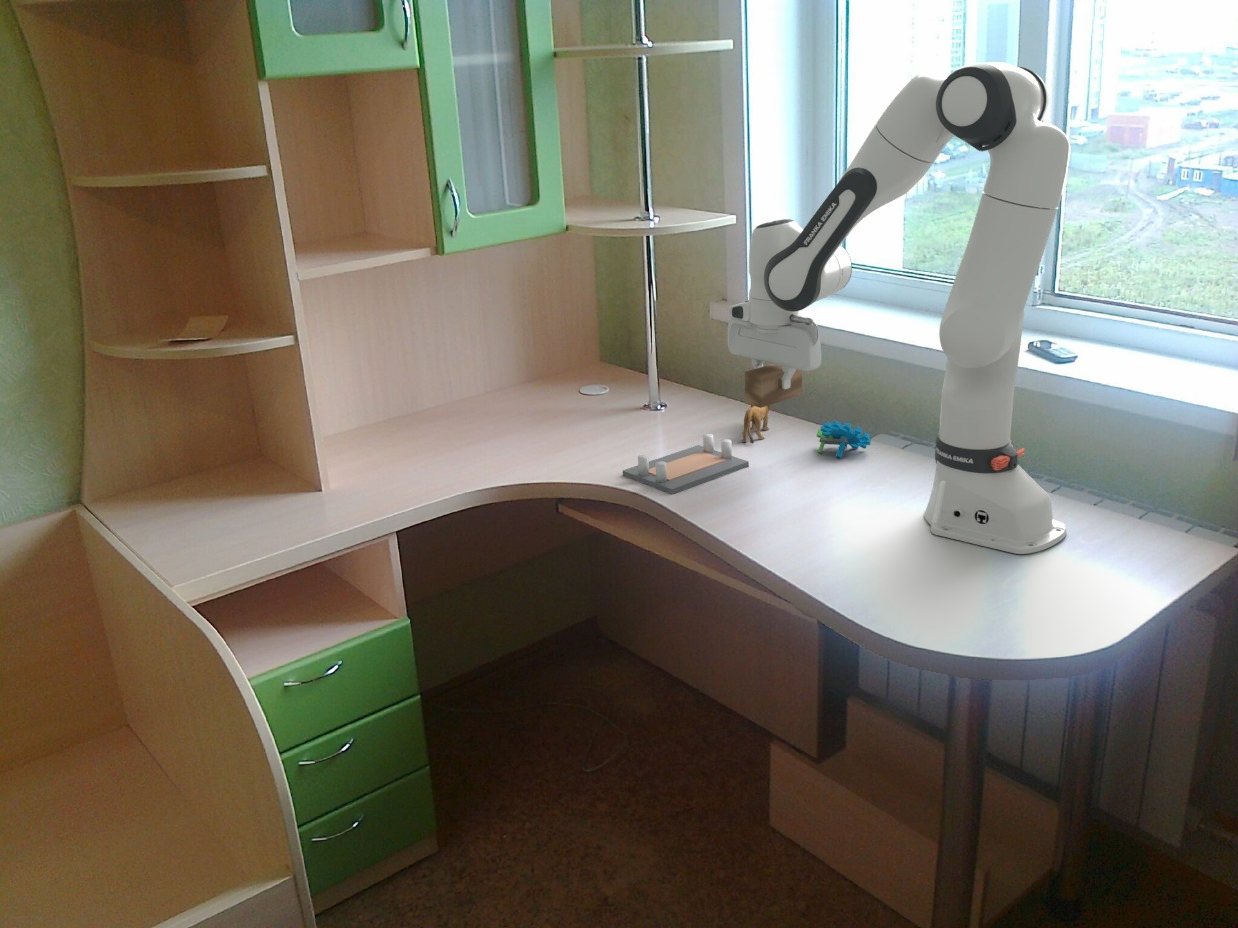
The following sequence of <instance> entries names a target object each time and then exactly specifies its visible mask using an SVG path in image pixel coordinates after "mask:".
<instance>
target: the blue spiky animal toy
mask: <svg viewBox="0 0 1238 928" xmlns="http://www.w3.org/2000/svg"><path fill="white" fill-rule="evenodd" d="M851 426H852V424H851V423H849V422H844V423H843V424H841V423H840V421H839V420H834V421H832V423H831V422H830V421H825V422H824V425H823V424H822V425H821V427H820V429H818V430H817V433H816V437H817V438H819V443H820V445H819V447H818V450H817V453H818V454H822V452H823V449H824V446H825V445H834V446H835V445H837V446H838V449H837V451H836V454H835V458H837V459H842V456H843V453H844V450H845V448H847V447H848V446H850V447H851V448H852V449H853V448H854V449H853V450H859V448H862V449H864V450H865V449H867V446H871V443H872V440H871V438H870V437H871V436H870V434H869V433H868V432H863V429H862V428H861V427H859V426H856V427H855V429H853V428H852V427H851ZM862 432H863V434H862Z"/></svg>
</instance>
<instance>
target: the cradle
mask: <svg viewBox="0 0 1238 928" xmlns="http://www.w3.org/2000/svg"><path fill="white" fill-rule="evenodd" d="M702 440H703V442H702V443H703V444H702V445H700V444H698V445H693V446H691V447H688V448H685V449H681V450H680V451H677V452H673V453H671V454H667V455H664V456H662V457H659V458H655V459H652V460H650V459H649V457H650V456H649V455H647V454H641V455H638V456H637V465H635V466H632V467H629V468H626V469H623V470H622V476H623V477H626V478H628V479H631V480H634V481H636V482H639V483H642V484H644V485H646V486H649V487H652V488H655V489H658V490H659V491H663V492H666V493H668V494H670V495H674V494H676V493H680V492H683V491H685V490H688V489H690V488H693V487H696V486H698V485H702V484H704V483H706V482H710V481H712V480H715V479H717V478H721V477H723V476H725V475H729V474H731V473H734V472H736V471H739V470H743V469H745V468H747V467H749V465H750V464H749V462H750V461H749V460H746V459H743V458H741V457H740V458H739V457H736V456H732V455H733V454H732V453H733V452H732V440H731V439H729V438H728V439H727V438H726V439H721V441H720V451H718V450H715V449H714V447H715V446H714V434H712V433H704V434H703V435H702Z"/></svg>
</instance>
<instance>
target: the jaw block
mask: <svg viewBox="0 0 1238 928" xmlns="http://www.w3.org/2000/svg"><path fill="white" fill-rule="evenodd" d="M784 373H785V372H784V371H782V366H781V365H777V364H773V363H770V364H766V365H763V367H760V368H756V369H754V368H753V369H749V370H747V371H744V404H745V405H749V406H751V405H752V406H756V407H760V408H762V407H765V406H768V405H770V406H771V405H774V404H777V403H780V402H783V401H787V400H790V399H793V398H796V397H799V396H802V394H803V393H802V390H803V388H802V387H803V385H802V384H803V370H799V369H796V371H795V373H794V374H793V376H792V378H791V386H790V388H788V389H782V388H779V387H778V384H779V383H778V379H780V378H782V377H783V375H784Z"/></svg>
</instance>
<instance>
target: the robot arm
mask: <svg viewBox="0 0 1238 928" xmlns="http://www.w3.org/2000/svg"><path fill="white" fill-rule="evenodd" d="M1049 94H1050V93H1049V91H1048V88H1047V85H1046V83H1045V82H1044V81H1043V78H1042V77H1040V76H1039V75H1038V74H1037V73H1036V72H1034V71H1033V70H1031V69H1029V68H1027V67H1023V66H1014V65H1012V64H1009V63H1007V62H995V61H993V62H973V63H970V64H966V65H963V66H961V67H959V68H957V69H955V70H954V71H952V72H951V73H950V74H949V75H948V76H946V75H944V74H941V73H939V72H935V71H934V72H932V71H928V72H921V73H919V74H917V75H916V76H914V77H912V79H911V80H910V81H909V82H908V83H907V84H906V85H904V87H903V88H902V89H901V90H900V91H899V92H898V94H896V96H895V97H894V98H893V99H892V101H891V102H890V103H889V105H888V106H887V107H886V108H885V110H884V111H883V113H882V114H881V115H880V117H879V119H878V120H877V121H876V123H875V125H874V126H873V128H872V129H871V131H869V134H868V136H867V137H866V138H865V139H864V142H863V143H862V145H861V146H860V148H859V149H858V152H857V153H856V154H855V157H854V158H853V160H852V161H851V163H850V164H849V166H848V167H847V168H846V170H845V172H843V174H842V176H841V178H840V179H839V181H838V182H837V184H836V185H835V186H834V188H833V189H832V190H831V191H830V192H829V194H828V196H826V198H825V200H824V201H823V202H822V203H821V205H820V206H819V208H818V209H817V211H815V213H814V214H813V215H812V218H810V220H809V221H808V223H807V224H806V225H805V227H804V228H803V227H802V226H800V225H799V223H798V222H797V221H796V220H793V219H790V218H789V219H788V218H787V219H778V220H773V221H768V222H765V223H762V224H761V223H760V224H759V225H757V226H756V227H755V228H754V229H753V231H752V233H751V238H750V243H749V244H750V245H749V250H748V251H749V253H748V273H749V274H748V275H749V277H750V281H751V282H750V289H749V292H748V300H745V301H744V302H740V303H737V304H733V305H730V306H729V307H728V309H727V313H728V317H729V318H730V319H729V321H728V325H727V348H728V350H729V352H730V353H731V354H732V355H735V356H739V357H744V358H748V359H751V366H752V368H753V369H756V368H760V367H763V366H764V364H765V363H770V364H777V365H781V366H782V371H784V372H785V373H784V375H783V377H782V378H780V379H778V383H779V384H778V387H779V388H782V389H788V388H790V386H791V378H792V376H793V374H794V373H795V371H796V369H799V370H802V372H809V371H813V370H817V369H818V368H819V367H820V366H821V364H822V347H821V337H820V329H819V326H818V325H817V323H816V321H814V319H813V318H810V317H803V316H800V315H799V312H800V311H802V310H804V309H806V308H807V307H809V306H811V305H813V303H816V302H819V301H821V300H823V299H825V298H828V297H829V296H832V295H835V294H836V293H838V292H840V291H841V290H842V289H845V287H846V286H847V284H848V283H849V282H850V279H851V276H852V271H853V265H852V259H851V257H850V255H849V253H848V250H846V248H845V247H844V246H843V245H842V244H843V242H845V240H846V239H847V238H848V236H849V234H850V233H851V232H852V230H853V229H854V228H855V227H856V226H857V225H858V224H859V223H860V222H861V221H862V220H863V219H865V217H867V216H869V215H871V213H873V212H874V211H877V210H878V209H880V208H881V207H883V206H885V205H886V204H889V203H891V202H893V201H894V200H897V199H899V198H900V197H902V196H904V195H906V194H907V193H908V192H909V191H910V190H911V189H912V188H913V187H915V186H916V184H917V183H919V181H920V180H922V178H924V176H925V175H926V174H927V172H928V171H929V170H930V168H932V166H933V165H934V162H935V161H937V159H938V157H939V156H940V154H941V153H942V151H943V150H944V149H945V147H946V146H947V144H948V143H949V142H950V141H951V140H952V139H953V138H954V137H956V138H958V139H960V140H962V141H963V142H965V143H967V144H968V145H970V146H971V147H972V148H974V149H976V150H977V151H979V152H988V154H989V158H990V159H989V160H990V165H989V169H988V170H989V171H988V174H987V177H986V181H985V184H984V187H983V190H982V194H981V197H980V200H979V204H978V208H977V211H976V214H975V217H974V222H973V224H972V228H971V231H970V235H969V238H968V241H967V244H966V247H965V250H964V252H963V255H962V259H961V260H960V264H959V267H958V270H957V273H956V275H955V278H954V280H953V284H952V285H951V290H950V292H949V295H948V298H947V302H946V304H945V307H944V311H943V314H942V316H941V321H940V323H939V333H938V337H939V342H940V347H941V350H942V351H943V353H944V355H945V356H946V357H947V358H946V359H947V360H946V364H945V371H944V377H943V383H942V387H941V396H940V397H941V399H940V415H939V431H938V434H937V436H936V439H935V448H934V449H935V450H934V451H935V452H934V459H935V465H936V466H935V471H934V478H933V479H934V480H933V484H932V488H931V493H930V495H929V496H930V497H929V500H928V503H927V505H926V508H925V510H924V513H923V516H924V519H925V521H926V522H927V524H929V525H930V532H931V533H932V534H933V535H935V536H940V537H944V538H949V539H953V540H957V541H961V542H965V543H969V544H973V545H978V546H982V547H986V548H991V549H995V550H999V551H1002V552H1003V551H1004V552H1007V553H1012V554H1016V555H1025V554H1027V555H1029V554H1034V553H1038V552H1041V551H1045V550H1047V549H1049V548H1051V547H1052V546H1055V545H1056V544H1058V543H1060V542H1061V541H1062V540H1063V539H1064V538H1065V537H1066V535H1067V526H1066V524H1065V523H1063V522H1061V521H1059V520H1056V519H1055V518H1054V517H1053V515H1054V514H1053V506H1052V499H1051V496H1050V495H1049V493H1048V492H1047V491H1046V490H1045V489H1043V488H1042V487H1041V486H1040V484H1039V483H1038V482H1036V481H1035V480H1034V479H1033V478H1032V477H1031V476H1030V475H1029V474H1028V472H1026V471H1025V469H1023V468H1022V467H1021V465H1020V462H1019V459H1018V458H1019V457H1021V456H1023V455H1025V452H1024V451H1025V450H1026V448H1025V447H1022V448H1020V449H1018V450H1016V448H1015V445H1014V442H1013V440H1012V439H1011V432H1012V421H1013V420H1012V419H1013V409H1014V395H1015V388H1016V380H1017V374H1018V366H1019V359H1020V351H1021V345H1022V344H1021V342H1022V335H1023V324H1024V316H1025V306H1026V305H1027V300H1028V299H1029V295H1030V292H1031V289H1032V287H1033V284H1034V281H1035V278H1036V276H1037V273H1038V270H1039V266H1040V264H1041V262H1042V259H1043V256H1044V253H1045V249H1046V246H1047V243H1048V240H1049V237H1050V234H1051V231H1052V228H1053V225H1054V222H1055V219H1056V215H1057V212H1058V210H1059V206H1060V202H1061V201H1062V200H1061V199H1062V196H1063V192H1064V188H1065V183H1066V179H1067V174H1068V168H1069V163H1070V162H1069V161H1070V155H1071V143H1070V139H1069V138H1068V136H1067V135H1066V133H1065V132H1063V130H1061V129H1060V128H1058V127H1057V126H1056V125H1053V124H1051V123H1047V122H1043V120H1044V119H1045V117H1046V115H1047V112H1048V110H1049V104H1050V102H1049V101H1050V97H1049V96H1050V95H1049Z"/></svg>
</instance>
